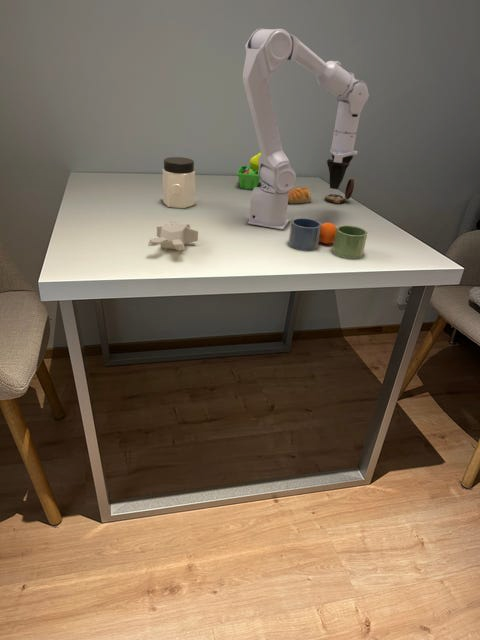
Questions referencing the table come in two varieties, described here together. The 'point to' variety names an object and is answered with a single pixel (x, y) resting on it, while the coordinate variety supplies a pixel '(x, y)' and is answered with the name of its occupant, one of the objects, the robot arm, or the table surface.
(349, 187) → the compass
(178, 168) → the jar
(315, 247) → the slate cup
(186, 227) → the white toy turtle
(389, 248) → the table surface
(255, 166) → the fruit basket
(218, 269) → the table surface
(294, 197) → the pastry
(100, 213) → the table surface
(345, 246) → the sage cup
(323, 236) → the ball
